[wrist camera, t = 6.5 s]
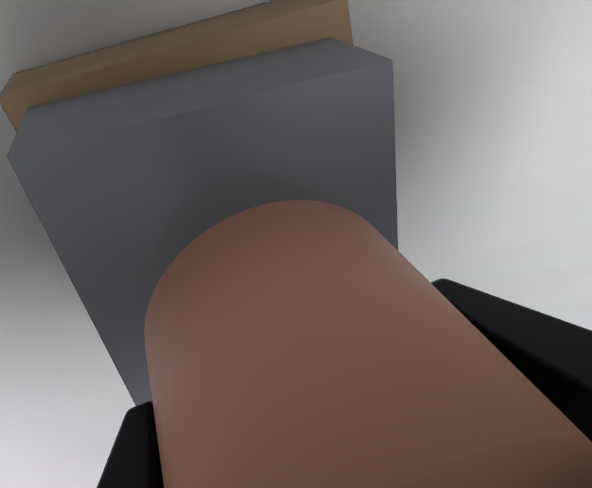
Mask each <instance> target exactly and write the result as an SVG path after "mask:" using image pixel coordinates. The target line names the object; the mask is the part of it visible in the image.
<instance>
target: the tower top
mask: <svg viewBox="0 0 592 488" xmlns="http://www.w3.org/2000/svg"><path fill="white" fill-rule="evenodd" d="M7 157H8V159H9V161H10V163H11V165H12V167H13V169H14V171H15V172H16V174H17V176H18V178H19V180H20V182H21V184H22V186H23V188H24V190H25V192H26V194H27V196H28V198H29V200H30V202H31V203H32V205H33V207H34V209H35V211H36V213H37V215H38V217H39V219H40V221H41V223H42V225H43V227H44V229H45V231H46V232H47V234H48V236H49V238H50V240H51V242H52V244H53V246H54V248H55V250H56V252H57V254H58V256H59V258H60V260H61V262H62V263H63V265H64V267H65V269H66V271H67V273H68V275H69V277H70V279H71V281H72V283H73V285H74V287H75V289H76V291H77V293H78V294H79V296H80V298H81V300H82V302H83V304H84V306H85V308H86V310H87V312H88V314H89V316H90V318H91V320H92V322H93V323H94V325H95V327H96V329H97V331H98V333H99V335H100V337H101V339H102V341H103V343H104V345H105V347H106V349H107V351H108V353H109V354H110V356H111V358H112V360H113V362H114V364H115V366H116V368H117V370H118V372H119V374H120V376H121V378H122V380H123V382H124V384H125V385H126V387H127V389H128V391H129V393H130V395H131V397H132V399H133V401H134V403H135V405H136V406H138V405H140V404H143V403H145V402H147V401H152V394H151V387H150V379H149V372H148V364H147V357H146V349H145V338H144V326H145V317H146V312H147V309H148V305H149V302H150V298H151V296H152V294H153V292H154V290H155V287H156V285H157V283H158V281H159V280H160V278H161V277H162V275H163V274H164V272H165V270H166V269H167V267H168V266H169V265H170V264H171V263H172V261H173V260H174V259H175V258H176V257H177V255H178V254H179V253H180V252H181V251H182V250H183V249H184V248H185V247H187V246H188V245H189V244H190V243H191V242H192V241H193V240H194V239H195V238H197V237H198V236H199V235H201V234H202V233H204V232H205V231H206V230H208V229H209V228H210V227H212V226H214V225H216V224H217V223H219V222H221V221H223V220H224V219H226V218H228V217H230V216H233V215H235V214H237V213H240V212H242V211H244V210H247V209H250V208H253V207H257V206H260V205H263V204H268V203H273V202H279V201H287V200H312V201H321V202H326V203H330V204H335V205H338V206H340V207H343V208H346V209H348V210H351V211H352V212H354V213H356V214H357V215H359V216H361V217H362V218H364V219H365V220H366V221H367V222H369V223H370V224H371V225H372V226H373V227H374V228H375V229H376V230H377V231H378V232H379V233H380V234H381V235H382V236H383V237H384V238H385V239H386V240H387V241H389V242H390V243H391V244H392V245H393V246H394V247H395V248H396V249H397V250H398V236H397V202H396V169H395V135H394V101H393V67H392V60H391V59H388V58H385V57H383V56H380V55H377V54H375V53H372V52H369V51H366V50H364V49H361V48H358V47H356V46H353V45H350V44H348V43H345V42H342V41H339V40H337V39H334V38H331V37H330V38H325V39H321V40H317V41H313V42H308V43H304V44H300V45H295V46H291V47H287V48H282V49H278V50H274V51H270V52H265V53H261V54H257V55H252V56H248V57H244V58H239V59H235V60H231V61H227V62H222V63H218V64H214V65H209V66H205V67H201V68H196V69H192V70H188V71H183V72H179V73H175V74H171V75H166V76H162V77H158V78H153V79H149V80H145V81H140V82H136V83H132V84H128V85H123V86H119V87H115V88H110V89H106V90H102V91H97V92H93V93H89V94H84V95H80V96H76V97H72V98H67V99H63V100H59V101H54V102H50V103H46V104H41V105H37V106H33V107H29V108H27V111H26V113H25V116H24V118H23V120H22V123H21V125H20V127H19V130H18V132H17V134H16V137H15V139H14V141H13V144H12V146H11V149H10V151H9V153H8V156H7Z"/></svg>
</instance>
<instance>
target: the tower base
mask: <svg viewBox="0 0 592 488" xmlns="http://www.w3.org/2000/svg"><path fill="white" fill-rule="evenodd" d="M330 37H331V38H334V39H337V40H339V41H342V42H345V43H348V44H350V45H353V42H352V34H351V26H350V18H349V10H348V2H347V0H272V1H269V2H265V3H262V4H258V5H255V6H251V7H248V8H244V9H241V10H237V11H233V12H230V13H226V14H223V15H219V16H216V17H212V18H209V19H205V20H202V21H198V22H194V23H191V24H187V25H184V26H180V27H177V28H173V29H170V30H166V31H163V32H159V33H155V34H152V35H148V36H145V37H141V38H138V39H134V40H131V41H127V42H124V43H120V44H116V45H113V46H109V47H106V48H102V49H99V50H95V51H92V52H88V53H85V54H81V55H78V56H74V57H70V58H67V59H63V60H60V61H56V62H53V63H49V64H46V65H42V66H39V67H35V68H31V69H28V70H24V71H21V72H17V73H14V74H13V75H12V77H11V78H10V80H9V81H8V83H7V85H6V86H5V88H4V89H3V91H2V92H1V94H0V104H1V106H2V107H3V109H4V111H5V113H6V114H7V116H8V118H9V120H10V121H11V123H12V125H13V127H14V129H15V130H16V132H18V130H19V127H20V125H21V123H22V120H23V118H24V116H25V113H26V111H27V108H29V107H33V106H37V105H41V104H46V103H50V102H54V101H59V100H63V99H67V98H72V97H76V96H80V95H84V94H89V93H93V92H97V91H102V90H106V89H110V88H115V87H119V86H123V85H128V84H132V83H136V82H140V81H145V80H149V79H153V78H158V77H162V76H166V75H171V74H175V73H179V72H183V71H188V70H192V69H196V68H201V67H205V66H209V65H214V64H218V63H222V62H227V61H231V60H235V59H239V58H244V57H248V56H252V55H257V54H261V53H265V52H270V51H274V50H278V49H282V48H287V47H291V46H295V45H300V44H304V43H308V42H313V41H317V40H321V39H325V38H330Z"/></svg>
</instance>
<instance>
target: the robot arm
mask: <svg viewBox="0 0 592 488" xmlns="http://www.w3.org/2000/svg"><path fill="white" fill-rule="evenodd" d="M431 284H432V285H433V286H434V287H435V288H436V289H437V290H438V291H439V292H440V293H441V294H442V295H443V296H444V297H445V298H446V299H447V300H448V301H449V302H450V303H451V304H452V305H453V306H454V307H455V308H456V309H457V310H459V311H460V312H461V313H462V314H463V315H464V316H465V317H466V318H467V319H468V320H469V321H470V322H471V323H472V324H473V325H474V326H475V327H476V328H477V329H478V330H479V331H480V332H481V333H482V334H483V335H484V336H485V337H486V338H487V339H488V340H489V341H490V342H491V343H492V344H493V345H494V346H495V347H496V348H497V349H498V350H499V351H500V352H501V353H502V354H503V355H504V356H505V357H506V358H507V359H508V360H509V361H510V362H511V363H512V364H513V365H514V366H515V367H516V368H517V369H518V370H519V371H520V372H521V373H522V374H523V375H524V376H525V377H526V378H527V379H529V380H530V381H531V382H532V383H533V384H534V385H535V386H536V387H537V388H538V389H539V390H540V391H541V392H542V393H543V394H544V395H545V396H546V397H547V398H548V399H549V400H550V401H551V402H552V403H553V404H554V405H555V406H556V407H557V408H558V409H559V410H560V411H561V412H562V413H563V414H564V415H565V416H566V417H567V418H568V419H569V420H570V421H571V422H572V423H573V424H574V425H575V426H576V427H577V428H578V429H579V430H580V431H581V432H582V433H583V434H584V435H585V436H586V437H587V438H588V439H589V440H590V441H591V442H592V331H591V330H588V329H586V328H583V327H580V326H577V325H574V324H572V323H569V322H566V321H563V320H560V319H558V318H555V317H552V316H549V315H546V314H544V313H541V312H538V311H535V310H532V309H530V308H527V307H524V306H521V305H518V304H515V303H513V302H510V301H507V300H504V299H501V298H499V297H496V296H493V295H490V294H487V293H485V292H482V291H479V290H476V289H473V288H471V287H468V286H465V285H462V284H459V283H457V282H454V281H451V280H448V279H443V278H442V279H438V280H436V281H433V282H431ZM97 488H164V484H163V476H162V469H161V461H160V454H159V446H158V439H157V432H156V424H155V417H154V409H153V402H152V401H147V402H145V403H143V404H140V405H138V406H135V407H133V408H131V409H129V410H128V411H127V413H126V415H125V417H124V420H123V422H122V425H121V427H120V430H119V432H118V435H117V437H116V440H115V442H114V445H113V447H112V450H111V453H110V455H109V458H108V460H107V463H106V465H105V468H104V470H103V473H102V475H101V478H100V481H99V483H98V486H97Z"/></svg>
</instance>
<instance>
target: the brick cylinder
mask: <svg viewBox="0 0 592 488" xmlns="http://www.w3.org/2000/svg"><path fill="white" fill-rule="evenodd" d="M144 338H145V349H146V357H147V364H148V372H149V379H150V387H151V394H152V402H153V409H154V417H155V424H156V432H157V439H158V446H159V454H160V461H161V469H162V476H163V484H164V488H592V442H591V441H590V440H589V439H588V438H587V437H586V436H585V435H584V434H583V433H582V432H581V431H580V430H579V429H578V428H577V427H576V426H575V425H574V424H573V423H572V422H571V421H570V420H569V419H568V418H567V417H566V416H565V415H564V414H563V413H562V412H561V411H560V410H559V409H558V408H557V407H556V406H555V405H554V404H553V403H552V402H551V401H550V400H549V399H548V398H547V397H546V396H545V395H544V394H543V393H542V392H541V391H540V390H539V389H538V388H537V387H536V386H535V385H534V384H533V383H532V382H531V381H530V380H529V379H527V378H526V377H525V376H524V375H523V374H522V373H521V372H520V371H519V370H518V369H517V368H516V367H515V366H514V365H513V364H512V363H511V362H510V361H509V360H508V359H507V358H506V357H505V356H504V355H503V354H502V353H501V352H500V351H499V350H498V349H497V348H496V347H495V346H494V345H493V344H492V343H491V342H490V341H489V340H488V339H487V338H486V337H485V336H484V335H483V334H482V333H481V332H480V331H479V330H478V329H477V328H476V327H475V326H474V325H473V324H472V323H471V322H470V321H469V320H468V319H467V318H466V317H465V316H464V315H463V314H462V313H461V312H460V311H459V310H457V309H456V308H455V307H454V306H453V305H452V304H451V303H450V302H449V301H448V300H447V299H446V298H445V297H444V296H443V295H442V294H441V293H440V292H439V291H438V290H437V289H436V288H435V287H434V286H433V285H432V284H431V283H430V282H429V281H428V280H427V279H426V278H425V277H424V276H423V275H422V274H421V273H420V272H419V271H418V270H417V269H416V268H415V267H414V266H413V265H412V264H411V263H410V262H409V261H408V260H407V259H406V258H405V257H404V256H403V255H402V254H401V253H400V252H399V251H398V250H397V249H396V248H395V247H394V246H393V245H392V244H391V243H390V242H389V241H387V240H386V239H385V238H384V237H383V236H382V235H381V234H380V233H379V232H378V231H377V230H376V229H375V228H374V227H373V226H372V225H371V224H370V223H369V222H367V221H366V220H365V219H364V218H362V217H361V216H359V215H357V214H356V213H354V212H352V211H351V210H348V209H346V208H343V207H340V206H338V205H335V204H330V203H326V202H321V201H312V200H287V201H279V202H273V203H268V204H263V205H260V206H257V207H253V208H250V209H247V210H244V211H242V212H240V213H237V214H235V215H233V216H230V217H228V218H226V219H224V220H223V221H221V222H219V223H217V224H216V225H214V226H212V227H210V228H209V229H208V230H206V231H205V232H204V233H202V234H201V235H199V236H198V237H197V238H195V239H194V240H193V241H192V242H191V243H190V244H189V245H188V246H187V247H185V248H184V249H183V250H182V251H181V252H180V253H179V254H178V255H177V257H176V258H175V259H174V260H173V261H172V263H171V264H170V265H169V266H168V267H167V269H166V270H165V272H164V274H163V275H162V277H161V278H160V280H159V281H158V283H157V285H156V287H155V290H154V292H153V294H152V296H151V298H150V302H149V305H148V309H147V312H146V317H145V326H144Z"/></svg>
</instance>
